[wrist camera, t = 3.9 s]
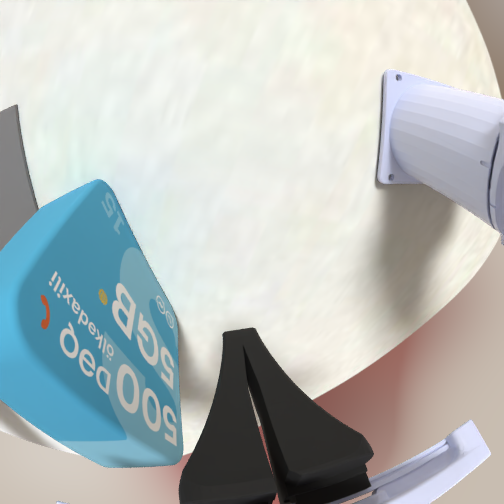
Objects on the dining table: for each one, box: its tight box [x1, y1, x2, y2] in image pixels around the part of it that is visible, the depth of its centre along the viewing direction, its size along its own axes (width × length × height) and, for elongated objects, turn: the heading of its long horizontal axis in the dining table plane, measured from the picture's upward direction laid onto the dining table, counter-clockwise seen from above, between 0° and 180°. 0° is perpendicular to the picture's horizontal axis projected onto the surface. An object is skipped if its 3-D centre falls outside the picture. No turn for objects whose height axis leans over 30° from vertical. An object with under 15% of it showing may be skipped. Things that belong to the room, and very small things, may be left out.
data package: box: [0, 179, 183, 468], centre depth 13 cm, size 12×4×12 cm, turn 14°
